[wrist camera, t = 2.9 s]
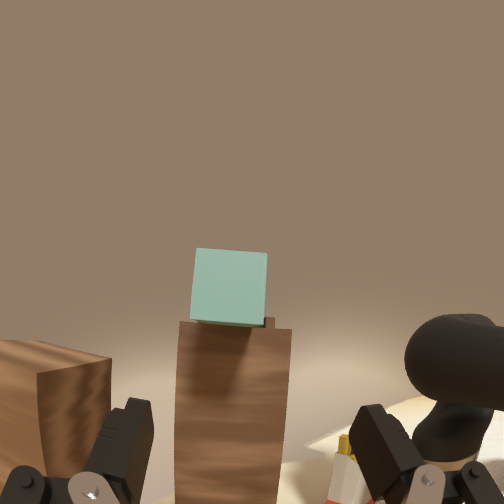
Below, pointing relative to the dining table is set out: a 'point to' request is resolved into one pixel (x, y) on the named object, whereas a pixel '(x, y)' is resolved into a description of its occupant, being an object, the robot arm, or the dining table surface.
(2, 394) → the pedestal
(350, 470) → the french fries container
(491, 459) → the dining table surface
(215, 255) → the bar
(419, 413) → the dining table surface
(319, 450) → the dining table surface
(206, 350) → the stand
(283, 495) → the dining table surface
